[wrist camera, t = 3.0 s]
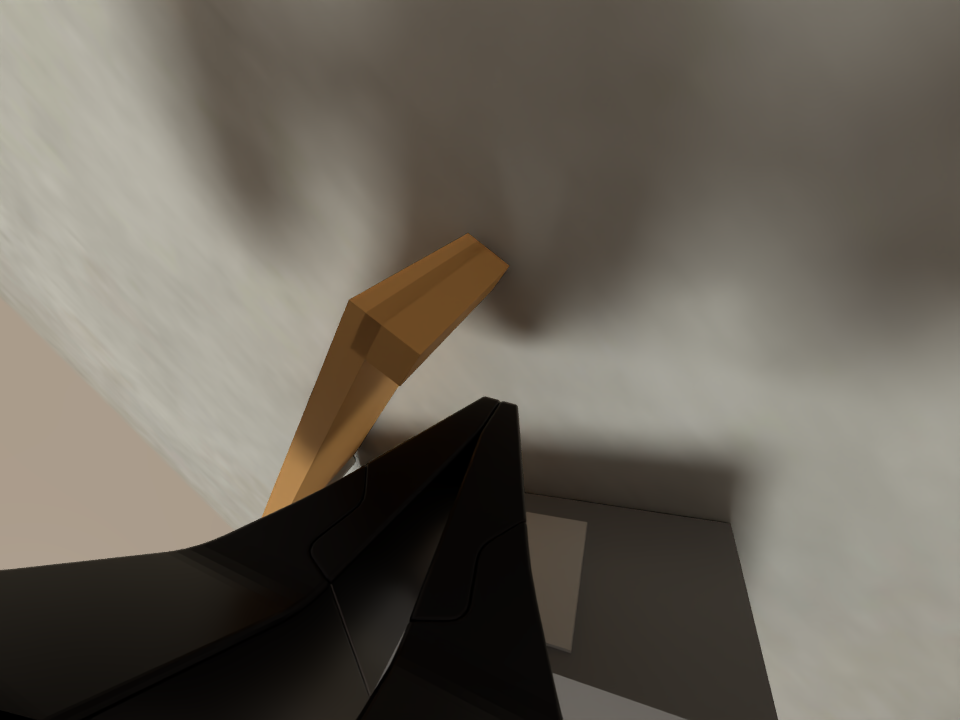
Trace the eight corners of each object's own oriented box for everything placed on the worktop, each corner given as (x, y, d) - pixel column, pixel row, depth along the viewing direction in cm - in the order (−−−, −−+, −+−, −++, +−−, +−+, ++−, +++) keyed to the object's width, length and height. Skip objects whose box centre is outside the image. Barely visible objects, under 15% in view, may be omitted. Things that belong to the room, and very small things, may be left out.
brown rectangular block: (367, 463, 16) (284, 564, 12) (343, 445, 16) (252, 540, 12) (509, 266, 9) (420, 355, 5) (468, 233, 9) (348, 299, 5)
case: (734, 497, 10) (798, 729, 6) (708, 653, 14) (737, 857, 10) (332, 447, 16) (233, 548, 12) (392, 566, 20) (332, 671, 16)
